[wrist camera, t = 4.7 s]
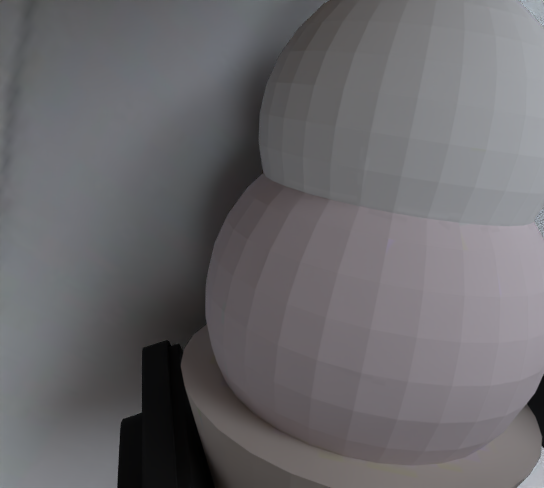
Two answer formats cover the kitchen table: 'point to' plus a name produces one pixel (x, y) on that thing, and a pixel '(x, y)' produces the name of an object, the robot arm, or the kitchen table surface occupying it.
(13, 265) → the kitchen table surface
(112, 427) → the kitchen table surface
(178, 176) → the kitchen table surface
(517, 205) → the ice cream cone
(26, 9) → the kitchen table surface
